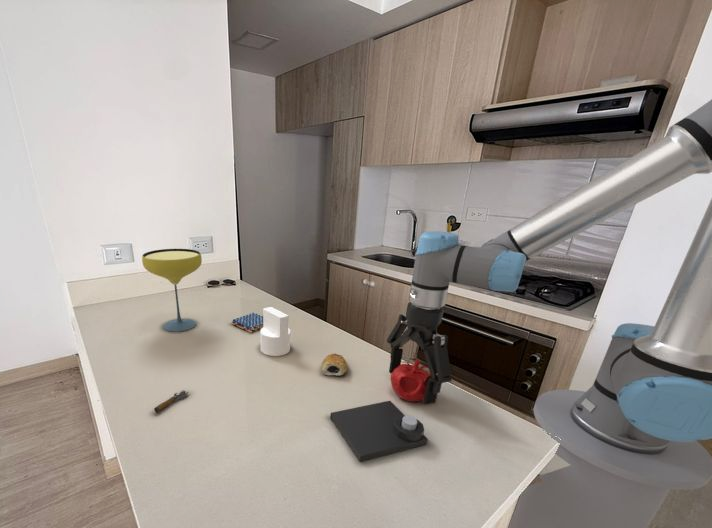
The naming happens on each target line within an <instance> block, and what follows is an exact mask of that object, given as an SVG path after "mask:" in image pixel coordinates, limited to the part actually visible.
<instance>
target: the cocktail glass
mask: <svg viewBox="0 0 712 528" xmlns="http://www.w3.org/2000/svg"><path fill="white" fill-rule="evenodd" d="M141 255H142V256H141V263H142V266H143V268H144V269H145V270H146V271H147V272H149V273H151V274H153V275H154V276H155V275H156V276H158V277H161V278H163V279H166V280H168V282H170V284H172V285H173V286H174V293H175V303H176V319H172V320H168V321H167V322H165V323H164V324H163V325H162V326H163V329H164V331H167V332H172V333H179V332H186V331H190V330H192V329H194V328H195V327H196V325H197V322H196V321H195V320H194V319H191V318H182V317H181V312H180V306H179V304H180V303H179V296H178V295H179V294H178V287H177V285H179V284H180V282H181V280H183V278H185V277H187V276H189V275H190V274H193V273H194V272H195V271H197V270H198V269H199V268H200V267H201V265H202V262H203V260H202V254H201V252H200V251H198V250H195V249H191V248H164V249H163V248H162V249H156V250H150V251H147V252H145V253H143V254H141Z"/></svg>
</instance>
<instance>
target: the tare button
mask: <svg viewBox="0 0 712 528" xmlns="http://www.w3.org/2000/svg"><path fill="white" fill-rule="evenodd" d="M416 419H417V418H415V417H414V416H411V415H405V416H404V417H403V419H402V424H401V425H402V427H403V428H404V429H406V430H409V431H414V430H415V429H416V426H417V420H418V419H417V420H416Z"/></svg>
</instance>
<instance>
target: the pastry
mask: <svg viewBox="0 0 712 528" xmlns="http://www.w3.org/2000/svg"><path fill="white" fill-rule="evenodd" d="M320 371H321V373H322V374H323V375H324V376H336V377H339V376H343V375H345V374H346V373H347V371H348V363H347V361H346V359H345V358H344V356H343V355H341V354H337V353H330V354H328V355H327V356H325V357H324V359H323V360H322V362H321V369H320Z"/></svg>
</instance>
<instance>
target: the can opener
mask: <svg viewBox="0 0 712 528" xmlns="http://www.w3.org/2000/svg"><path fill="white" fill-rule="evenodd" d="M188 394H189V391H187V392H186V391H185V390H181V391H180V393H178V392H175V393H174V394H173V396H172V397H169V399H167V400H165V401H163V402H162V403H160V404H158V405H157V406H155V407H154V412H155V413H158V412H160V411H162V410H164V409H165V408H166V407H167V406H169V405H171V403H173V402H175V401H176V400H177V399H183V398H185V397H187V396H188Z"/></svg>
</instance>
